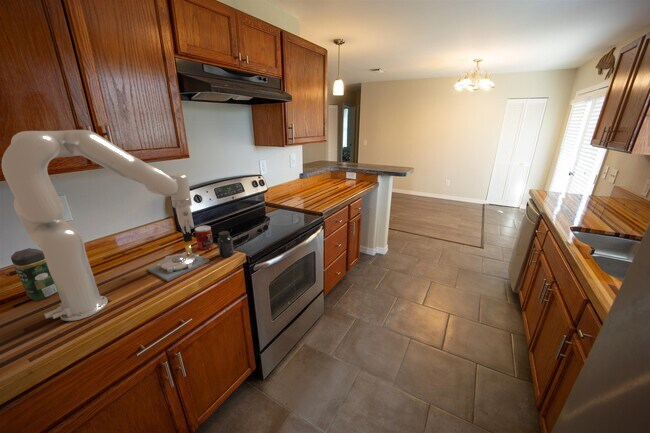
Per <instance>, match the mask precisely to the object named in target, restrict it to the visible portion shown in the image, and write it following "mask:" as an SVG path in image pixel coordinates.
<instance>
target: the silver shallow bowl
mask: <svg viewBox="0 0 650 433" xmlns="http://www.w3.org/2000/svg"><path fill="white" fill-rule="evenodd" d="M184 248H185V252H184V251H183V252H182V253H176V254H172V255H167V256H165V257H164V259H162V260H161V261H160V262H159V263H157V264H158V268H159V270H160V269H161V268H162V270H164V271H167V272H168V273H173V272H174V271H180V270H183V269H186V268H188V269H189V268H191V267H193V266H192V265H193V264H194V263H195V261H196V260H198V257H197V255H198V254H196V255H193V254H192V253H193V250H192V246H191V244H190V245H189V244H187V245H184ZM160 263H161V264H160Z"/></svg>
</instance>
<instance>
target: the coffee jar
mask: <svg viewBox="0 0 650 433" xmlns="http://www.w3.org/2000/svg"><path fill="white" fill-rule="evenodd" d="M10 259H11V262H12V265H13V267H14V269H15V272H16V273H17V276H18V278H19V280H20V283H21V285H22V287H23V289H24V292H25V293H26V295H27V297H28V298H29V299H31V300H33V301H41V300H44V299H47V298H50V297H53V296H54V295H55V294H58V291H57V289H56V286H55V284H54V281H53V279H52V276H51V274H50V272H49V269H48V266H47V263H46V259H45V256H44V254H43V251H42V249H38V248H30V247H29V248H26V249H21V250H17V251H15V252H14V253H13V254H11V256H10Z"/></svg>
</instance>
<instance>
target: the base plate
mask: <svg viewBox="0 0 650 433" xmlns="http://www.w3.org/2000/svg"><path fill="white" fill-rule="evenodd" d="M192 254H193V255H197V257H198V260H196V261H195V263H194V264H193V265H192V266H193V267H191V268H189V269H188V268H186V269H183V270H180V271H174V272H173V273H168V272H167V271H164V270H162V268H161V269H160V270H159V268H158V264H159V263H160V264H161V262H159V263H157V264H155V265H152V266H149V267H147V268H146V271H147V272H149V273H151V274H153V275H155V276H157V277H158V278H160V279H162V280H164V281H166V282H169V281H172V280H174V279H176V278H178V277H180V276H182V275H185V274H187V273H189V272H192V271H193V270H195V269H197V268H199V267H201V266H203V265H205V263H206V264H208V263H210V262H211V260H210V259H209V258H207V257H204V256H201V255H199V254H196V253H193V252H192ZM209 261H210V262H209ZM207 262H208V263H207Z"/></svg>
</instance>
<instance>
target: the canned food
mask: <svg viewBox="0 0 650 433" xmlns="http://www.w3.org/2000/svg"><path fill="white" fill-rule="evenodd" d="M194 232H195V239H196V245H197V248H198V249H199V250H200V251H207V249H208V250H210V249H209V248H211V247H212V248H213V247H214V239H213V232H212V227H211V226H210V225H200V226H197V227H194ZM212 248H211V249H212Z"/></svg>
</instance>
